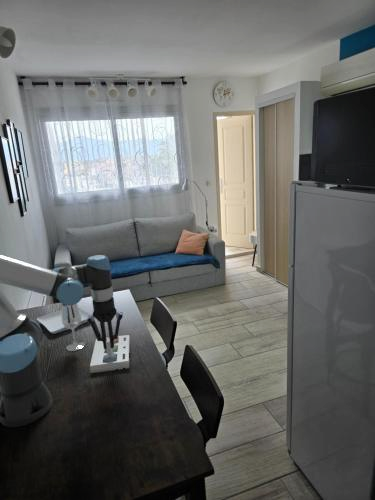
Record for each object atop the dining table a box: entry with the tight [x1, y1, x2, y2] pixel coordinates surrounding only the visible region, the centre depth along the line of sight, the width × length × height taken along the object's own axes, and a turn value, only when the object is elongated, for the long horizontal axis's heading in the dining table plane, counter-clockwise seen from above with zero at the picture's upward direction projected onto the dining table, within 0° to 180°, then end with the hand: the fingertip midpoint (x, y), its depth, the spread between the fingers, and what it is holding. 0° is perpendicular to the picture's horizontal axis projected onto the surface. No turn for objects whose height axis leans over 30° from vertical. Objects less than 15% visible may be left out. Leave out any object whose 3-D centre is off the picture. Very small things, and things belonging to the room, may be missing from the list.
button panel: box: [89, 334, 131, 374], centre depth 130 cm, size 20×14×3 cm
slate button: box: [104, 353, 116, 363], centre depth 124 cm, size 4×4×3 cm
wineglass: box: [61, 303, 86, 352], centre depth 136 cm, size 8×8×20 cm
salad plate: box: [36, 306, 92, 334], centre depth 161 cm, size 21×21×3 cm
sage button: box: [106, 344, 117, 353], centre depth 130 cm, size 4×4×3 cm
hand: (110, 355), depth 123 cm, fingers closed
